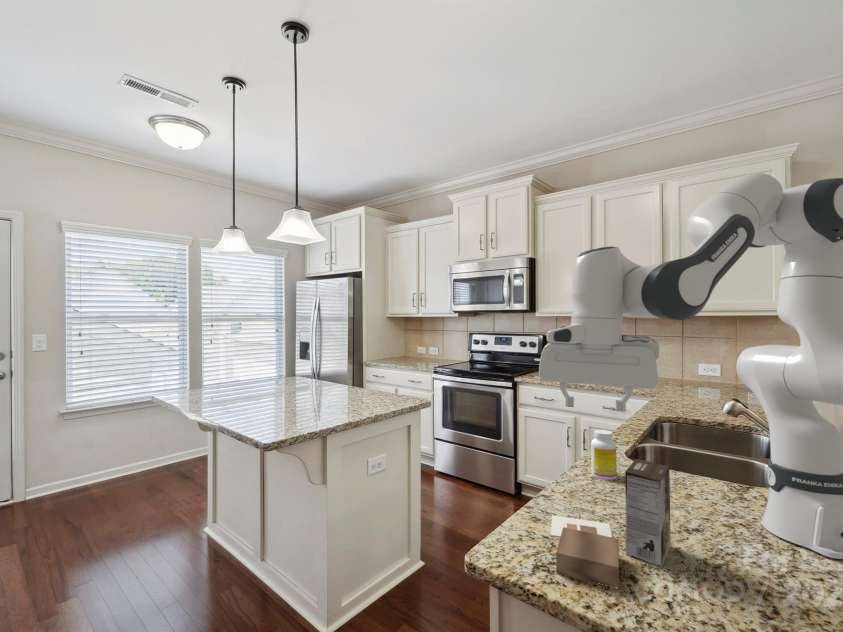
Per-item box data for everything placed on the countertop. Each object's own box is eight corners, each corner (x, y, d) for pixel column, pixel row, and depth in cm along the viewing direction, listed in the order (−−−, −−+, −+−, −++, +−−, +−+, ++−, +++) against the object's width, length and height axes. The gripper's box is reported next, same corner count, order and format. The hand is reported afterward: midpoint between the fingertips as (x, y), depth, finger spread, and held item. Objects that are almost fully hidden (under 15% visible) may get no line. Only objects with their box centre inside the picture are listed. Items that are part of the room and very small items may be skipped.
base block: (618, 560, 78) (618, 538, 78) (618, 591, 69) (618, 567, 69) (563, 547, 82) (563, 527, 82) (556, 575, 73) (556, 552, 73)
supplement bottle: (620, 481, 114) (620, 435, 114) (596, 481, 114) (596, 435, 114) (610, 472, 121) (609, 428, 121) (587, 472, 121) (587, 428, 121)
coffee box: (635, 535, 86) (635, 458, 86) (671, 546, 82) (671, 465, 82) (624, 555, 79) (623, 470, 79) (662, 568, 75) (662, 478, 75)
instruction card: (609, 524, 90) (609, 523, 90) (613, 546, 82) (613, 544, 82) (552, 516, 94) (552, 514, 94) (550, 535, 86) (550, 534, 86)
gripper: (656, 335, 76) (654, 410, 76) (541, 332, 83) (539, 400, 83) (663, 336, 70) (661, 418, 70) (538, 332, 77) (537, 406, 77)
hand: (594, 408), depth 76 cm, fingers open, 7 cm apart
